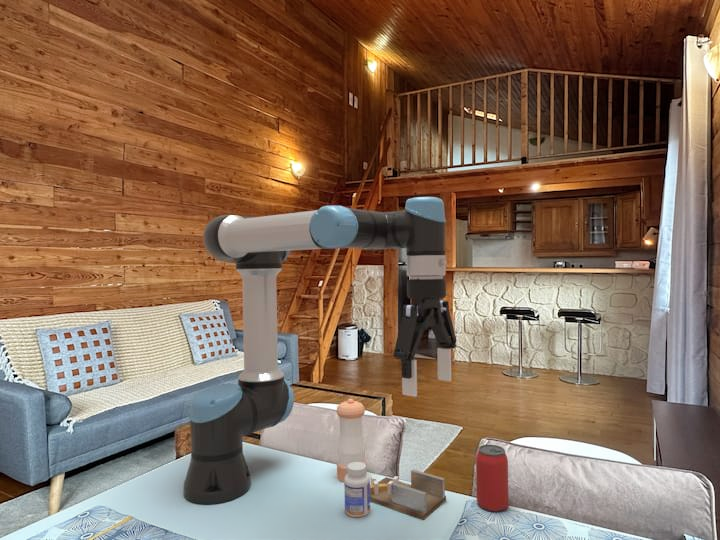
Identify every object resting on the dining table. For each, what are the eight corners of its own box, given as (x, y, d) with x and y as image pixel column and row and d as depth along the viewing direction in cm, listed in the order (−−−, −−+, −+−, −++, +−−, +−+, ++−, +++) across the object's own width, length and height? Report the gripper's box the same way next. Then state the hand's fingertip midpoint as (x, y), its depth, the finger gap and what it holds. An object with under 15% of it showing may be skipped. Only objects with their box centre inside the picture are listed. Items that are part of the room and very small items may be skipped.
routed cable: (360, 491, 107) (360, 481, 107) (378, 480, 113) (377, 470, 113) (388, 501, 103) (388, 490, 103) (405, 489, 108) (404, 478, 108)
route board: (360, 497, 107) (360, 493, 106) (385, 481, 114) (385, 477, 114) (423, 520, 97) (423, 515, 97) (446, 500, 105) (446, 495, 105)
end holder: (391, 502, 102) (391, 484, 102) (413, 486, 109) (413, 469, 109) (424, 514, 97) (424, 494, 97) (444, 496, 104) (444, 478, 104)
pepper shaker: (341, 469, 121) (339, 394, 121) (369, 471, 120) (367, 395, 120) (333, 482, 114) (332, 402, 114) (363, 484, 113) (362, 404, 113)
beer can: (510, 514, 99) (509, 456, 98) (477, 511, 100) (476, 454, 100) (507, 498, 105) (506, 444, 105) (476, 496, 106) (475, 442, 106)
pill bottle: (357, 502, 105) (357, 458, 104) (375, 511, 101) (374, 465, 101) (339, 511, 101) (338, 465, 101) (357, 521, 97) (356, 473, 97)
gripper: (408, 280, 80) (411, 406, 80) (471, 276, 100) (473, 377, 100) (372, 280, 85) (374, 399, 85) (439, 276, 105) (441, 372, 105)
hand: (428, 387), depth 92 cm, fingers open, 13 cm apart
